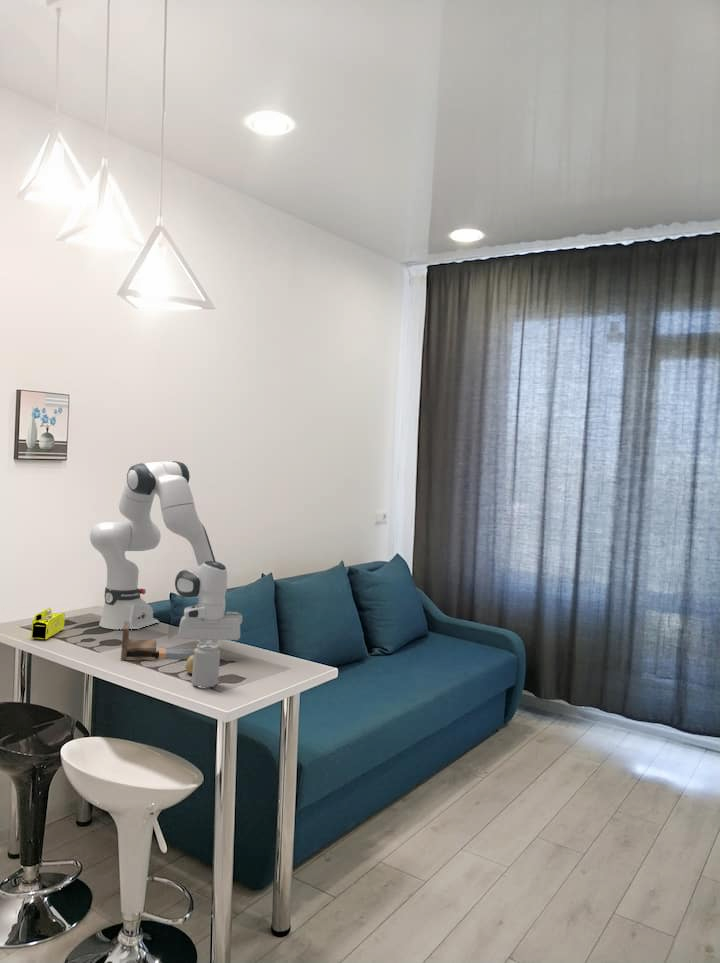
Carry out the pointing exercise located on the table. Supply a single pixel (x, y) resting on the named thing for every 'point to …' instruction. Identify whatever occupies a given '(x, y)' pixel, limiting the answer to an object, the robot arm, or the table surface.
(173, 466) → the robot arm
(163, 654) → the two-tone tall prism
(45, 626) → the yellow toy chassis
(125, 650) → the tan bookend
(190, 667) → the onion
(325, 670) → the table surface
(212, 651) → the can
